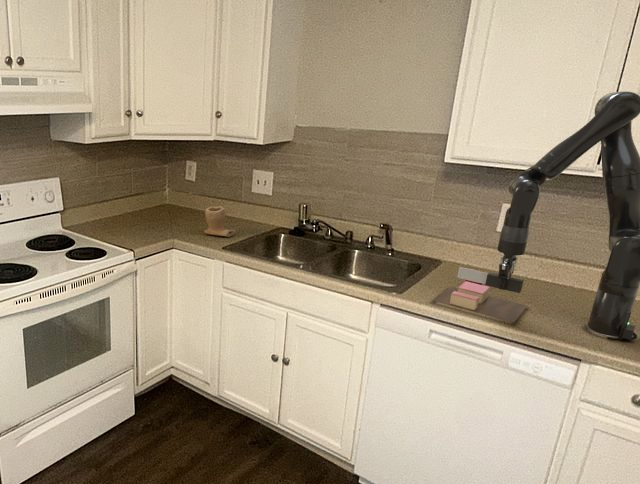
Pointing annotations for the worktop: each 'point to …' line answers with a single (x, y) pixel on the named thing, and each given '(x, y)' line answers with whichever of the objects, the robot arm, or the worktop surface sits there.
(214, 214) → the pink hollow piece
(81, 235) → the worktop surface
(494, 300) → the cake board
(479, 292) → the cake
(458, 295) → the pink and tan block
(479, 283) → the onion
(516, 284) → the knife
